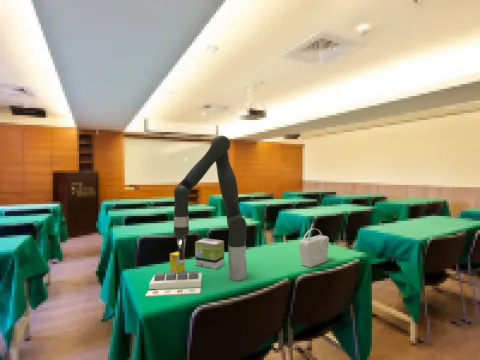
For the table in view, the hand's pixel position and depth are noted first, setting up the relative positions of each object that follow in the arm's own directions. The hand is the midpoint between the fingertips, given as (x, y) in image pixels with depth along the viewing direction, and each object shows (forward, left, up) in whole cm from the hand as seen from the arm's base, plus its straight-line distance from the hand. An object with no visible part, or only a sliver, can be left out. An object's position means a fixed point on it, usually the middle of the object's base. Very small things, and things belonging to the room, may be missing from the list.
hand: (181, 259), depth 137 cm
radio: (-77, -20, -13) cm, 80 cm away
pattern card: (+3, +10, -12) cm, 16 cm away
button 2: (0, 0, -10) cm, 10 cm away
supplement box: (+5, -17, -13) cm, 21 cm away
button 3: (+5, 0, -10) cm, 11 cm away
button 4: (+11, 0, -10) cm, 15 cm away
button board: (+3, 0, -12) cm, 13 cm away
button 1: (-6, 0, -10) cm, 12 cm away
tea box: (-13, -27, -13) cm, 32 cm away
